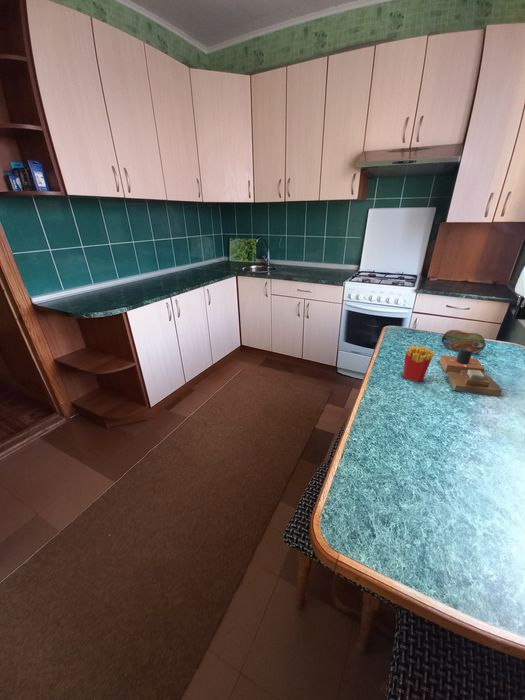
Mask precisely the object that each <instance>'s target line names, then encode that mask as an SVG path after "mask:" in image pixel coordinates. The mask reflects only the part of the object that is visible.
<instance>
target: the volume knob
mask: <svg viewBox="0 0 525 700" xmlns="http://www.w3.org/2000/svg"><path fill="white" fill-rule="evenodd" d="M472 352H473V350H472V349H471V348H468V347H460V350H459V351H458V353H457V355H456V357H457V359H456V361H457V362H459V363H461V364H468V363H469V361H470V358H472V355H473V353H472Z"/></svg>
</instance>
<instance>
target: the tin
mask: <svg viewBox="0 0 525 700" xmlns="http://www.w3.org/2000/svg"><path fill="white" fill-rule="evenodd" d="M441 343H442V345H443V346H444V347H445V348H446V349H448V350H451V351H457V352H459V350H460V347H468V348H471V349H472V350H473V352H472V354H478V353H480V352H482V351H483V350H484V349H485V348H486V340H485V338H484V337H483V335H481V334H479V333H478V332H470V331H466V330H459V329H450V330H447V331H446V332H445V333H443V335H442V337H441Z"/></svg>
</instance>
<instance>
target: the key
mask: <svg viewBox="0 0 525 700" xmlns="http://www.w3.org/2000/svg"><path fill="white" fill-rule="evenodd" d="M483 374H484V373H483ZM483 374H482V372H481V371H478V370H468V372H467V375H468V376H469V377H470V379H478V380H483V379H484V375H485V374H484V375H483Z"/></svg>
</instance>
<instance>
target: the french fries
mask: <svg viewBox="0 0 525 700" xmlns="http://www.w3.org/2000/svg"><path fill="white" fill-rule="evenodd" d="M434 356H435V351H434V350H432V349H430V348H428V347H426V346H423V345H421V346H418V345H411V346H410V345H408V346H407V351H406V352H405V356H404V365H403V374H402V377H403V378H405V379H406V380H410V381H412V382H413V381H414V382H417V383H420V382H423V380H424V378H425V375H426V373H427V371H428V368H429V365H430V364H431V361H432V359H433V358H434Z"/></svg>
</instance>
